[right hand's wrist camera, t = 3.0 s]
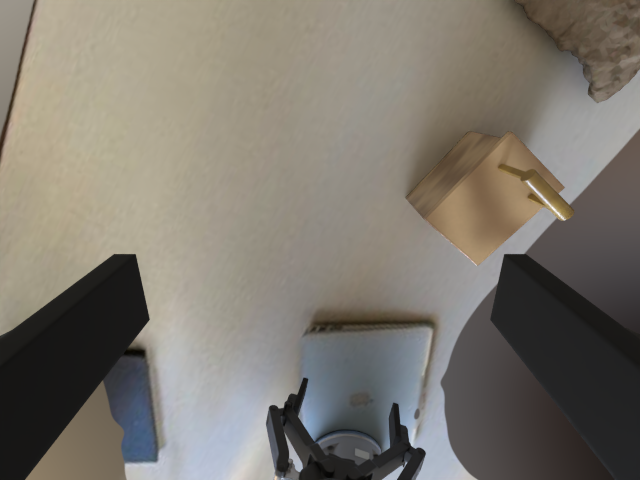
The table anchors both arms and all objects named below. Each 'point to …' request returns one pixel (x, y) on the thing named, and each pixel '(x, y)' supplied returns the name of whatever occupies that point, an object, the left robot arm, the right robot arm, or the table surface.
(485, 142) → the chest
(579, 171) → the table surface
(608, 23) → the stone
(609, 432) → the right robot arm
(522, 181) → the lid
